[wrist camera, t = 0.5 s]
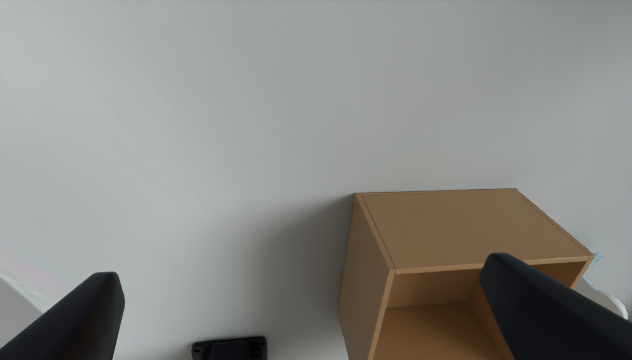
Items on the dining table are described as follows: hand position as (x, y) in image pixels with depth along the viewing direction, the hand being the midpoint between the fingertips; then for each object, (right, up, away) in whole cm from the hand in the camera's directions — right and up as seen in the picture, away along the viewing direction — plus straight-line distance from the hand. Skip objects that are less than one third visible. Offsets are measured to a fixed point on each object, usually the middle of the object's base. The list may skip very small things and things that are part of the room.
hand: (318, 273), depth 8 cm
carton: (+9, -4, +20) cm, 23 cm away
